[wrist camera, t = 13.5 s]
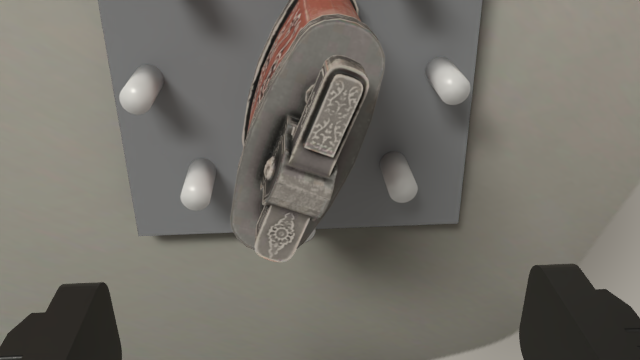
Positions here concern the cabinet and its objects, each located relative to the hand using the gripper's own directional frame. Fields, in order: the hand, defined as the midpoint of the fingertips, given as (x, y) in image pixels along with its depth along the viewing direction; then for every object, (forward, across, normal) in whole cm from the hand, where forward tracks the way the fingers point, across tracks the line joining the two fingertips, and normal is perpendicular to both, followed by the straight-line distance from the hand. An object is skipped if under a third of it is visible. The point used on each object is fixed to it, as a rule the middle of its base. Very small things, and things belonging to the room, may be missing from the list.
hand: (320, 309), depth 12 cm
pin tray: (+16, 0, 0) cm, 16 cm away
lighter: (+15, 0, 0) cm, 15 cm away
